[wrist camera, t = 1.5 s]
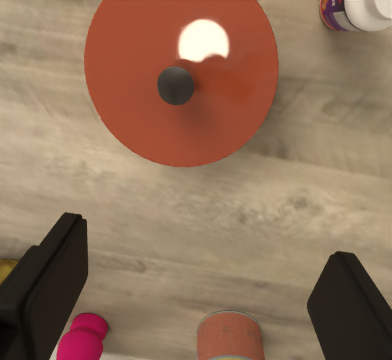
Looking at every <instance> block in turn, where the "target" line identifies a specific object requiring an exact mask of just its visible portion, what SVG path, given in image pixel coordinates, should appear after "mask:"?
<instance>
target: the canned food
mask: <svg viewBox="0 0 392 360" xmlns="http://www.w3.org/2000/svg"><path fill="white" fill-rule="evenodd" d="M197 334H198V338H197V358H196V360H265V357H264V351H263V345H262V339H261V329H260V326H259V324H258V323H257V321H256V320H255V319H253V318H252V317H251V316H249V315H247V314H244V313H241V312H237V311H220V312H216V313H213V314H210V315H208V316H207V317H205V318H204V319H203V320H202V321H201V322H200V323H199V325H198V329H197Z"/></svg>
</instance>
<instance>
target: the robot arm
mask: <svg viewBox="0 0 392 360" xmlns="http://www.w3.org/2000/svg"><path fill="white" fill-rule="evenodd" d="M87 276H88V245H87V221H86V219H82V215H80V214H74V213H67V212H65V213H64V214H63V215H62V216H61V217H60V219H59V220H58V221H57V223H56V224H55V225H54V226H53V228H52V229H51V230H50V232H49V233H48V234H47V236H46V237H45V238H44V240H43V241H42V242H41V243H40V245H39V246H36V245H34V246H32V247H31V248H30V249H29V250H28V251H27V252H26V253H25V255H24V256H23V257H22V258H21V260H20V261H19V262H18V263H17V265H16V266H15V267H14V268H13V270H12V271H11V272H10V273H9V275H8V276H7V277H6V278H5V280H4V281H3V282H2V283H1V285H0V360H49V359H50V357H51V355H52V352H53V350H54V348H55V346H56V344H57V342H58V340H59V338H60V336H61V333H62V331H63V329H64V327H65V325H66V323H67V321H68V319H69V316H70V314H71V312H72V310H73V308H74V306H75V304H76V302H77V299H78V297H79V295H80V293H81V291H82V289H83V287H84V285H85V282H86V280H87ZM307 309H308V313H309V315H310V318H311V321H312V324H313V326H314V329H315V332H316V335H317V337H318V340H319V343H320V346H321V348H322V351H323V354H324V357H325V359H326V360H392V309H391V308H390V306H389V305H388V303H387V302H386V300H385V299H384V297H383V296H382V294H381V293H380V291H379V290H378V288H377V287H376V285H375V284H374V282H373V281H372V279H371V278H370V276H369V275H368V273H367V272H366V270H365V269H364V267H363V266H362V264H361V263H360V261H359V260H358V258H357V257H356V255H355V254H353V253H348V252H341V251H337V252H335V254H332V255H331V256H330V257H329V259H328V261H327V263H326V265H325V267H324V269H323V271H322V273H321V275H320V277H319V279H318V281H317V283H316V285H315V287H314V289H313V291H312V293H311V295H310V297H309V299H308V302H307Z"/></svg>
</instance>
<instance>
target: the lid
mask: <svg viewBox="0 0 392 360" xmlns="http://www.w3.org/2000/svg"><path fill="white" fill-rule="evenodd" d="M278 63H279V62H278V52H277V46H276V42H275V37H274V33H273V31H272V28H271V26H270V23H269V20H268V18H267V17H266V15H265V13H264V11H263V9H262V7H261V6H260V5H259V3H258V2H257V1H256V0H103V1H102V2H101V3H100V5H99V7H98V9H97V11H96V13H95V14H94V17H93V19H92V22H91V24H90V27H89V30H88V35H87V39H86V44H85V54H84V65H85V76H86V83H87V87H88V90H89V94H90V97H91V99H92V102H93V105H94V107H95V109H96V111H97V113H98V115H99V116H100V118H101V120H102V121H103V123H104V124H105V125H106V127H107V128H108V129H109V131H110V132H111V133H112V134H113V135H114V136H115V137H116V138H117V139H118V140H119V141H120V142H121V143H122V144H123V145H124V146H126V147H127V148H129V149H130V150H131V151H133V152H134V153H136V154H138V155H140V156H141V157H143V158H146V159H148V160H150V161H153V162H156V163H159V164H163V165H168V166H174V167H193V166H200V165H205V164H209V163H212V162H215V161H218V160H220V159H222V158H224V157H227V156H228V155H230V154H232V153H233V152H235V151H236V150H238V149H239V148H240V147H242V146H243V145H244V144H245V143H246V142H247V141H248V140H249V139H250V138H251V137H252V136H253V135H254V134H255V133H256V131H257V130H258V129H259V127H260V126H261V125H262V123H263V121H264V119H265V118H266V116H267V114H268V112H269V110H270V107H271V105H272V102H273V99H274V95H275V92H276V87H277V81H278Z"/></svg>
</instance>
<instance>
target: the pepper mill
mask: <svg viewBox="0 0 392 360" xmlns="http://www.w3.org/2000/svg"><path fill="white" fill-rule="evenodd" d="M107 329H108V327H107V323H106V322H105V320H104V319H102V318H101V317H99V316H97V315H95V314H90V313H84V314H80V315H78V316H76V317H75V319H74V321H73V323H72V325H71V327H70V331H69V332H67V333H66V334H65V335H64V336H63V337H62V339H61V341H60V343H59V346H58V350H57V358H56V360H99V359H100V357H101V354H102V352H103V343H102V340H103V339H104V338H105V335H106V332H107Z"/></svg>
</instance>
